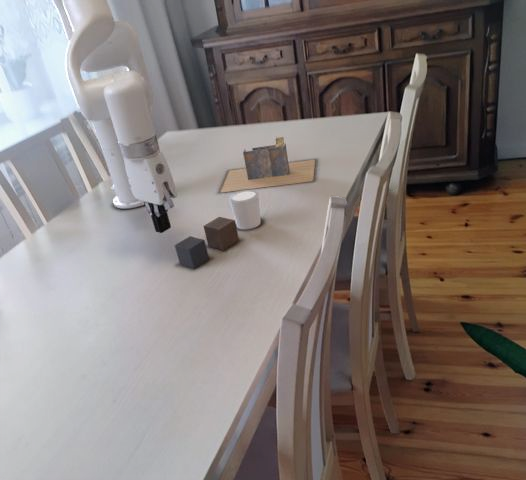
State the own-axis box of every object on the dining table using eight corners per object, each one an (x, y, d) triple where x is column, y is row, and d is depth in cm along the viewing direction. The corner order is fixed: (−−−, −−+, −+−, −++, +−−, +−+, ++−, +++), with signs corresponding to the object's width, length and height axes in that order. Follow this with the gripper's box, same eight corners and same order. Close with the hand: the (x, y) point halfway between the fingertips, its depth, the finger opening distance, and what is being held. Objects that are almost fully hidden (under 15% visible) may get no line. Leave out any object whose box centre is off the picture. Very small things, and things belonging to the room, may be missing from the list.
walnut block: (208, 246, 127) (203, 225, 124) (223, 236, 130) (219, 216, 127) (224, 250, 124) (219, 229, 121) (239, 240, 127) (235, 220, 124)
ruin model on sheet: (315, 159, 161) (311, 124, 156) (313, 181, 148) (308, 143, 143) (229, 170, 166) (222, 136, 160) (220, 192, 153) (212, 156, 147)
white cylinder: (260, 229, 130) (254, 200, 126) (231, 231, 132) (225, 203, 128) (266, 216, 135) (261, 188, 131) (238, 218, 137) (232, 190, 133)
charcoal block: (179, 264, 123) (174, 245, 120) (195, 255, 125) (190, 235, 122) (194, 269, 120) (188, 249, 117) (209, 259, 122) (204, 239, 120)
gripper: (177, 144, 112) (198, 228, 123) (131, 137, 121) (154, 216, 132) (149, 158, 108) (173, 244, 119) (103, 149, 117) (129, 231, 128)
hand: (163, 229), depth 126 cm, fingers closed
